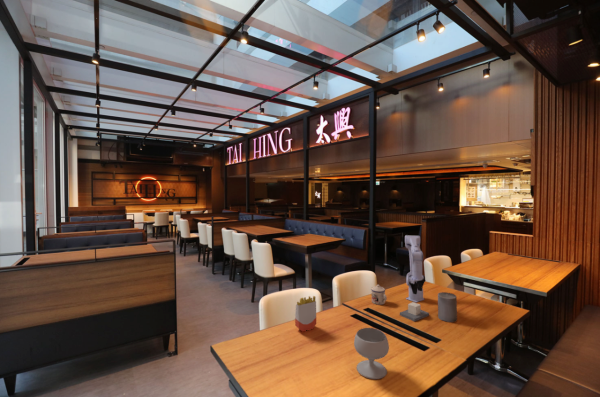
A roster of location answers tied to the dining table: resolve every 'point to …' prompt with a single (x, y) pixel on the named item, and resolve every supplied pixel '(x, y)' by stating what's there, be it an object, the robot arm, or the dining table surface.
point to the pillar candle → (447, 307)
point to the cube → (414, 308)
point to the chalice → (371, 352)
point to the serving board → (414, 317)
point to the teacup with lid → (378, 295)
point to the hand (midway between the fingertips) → (417, 292)
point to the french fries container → (305, 314)
